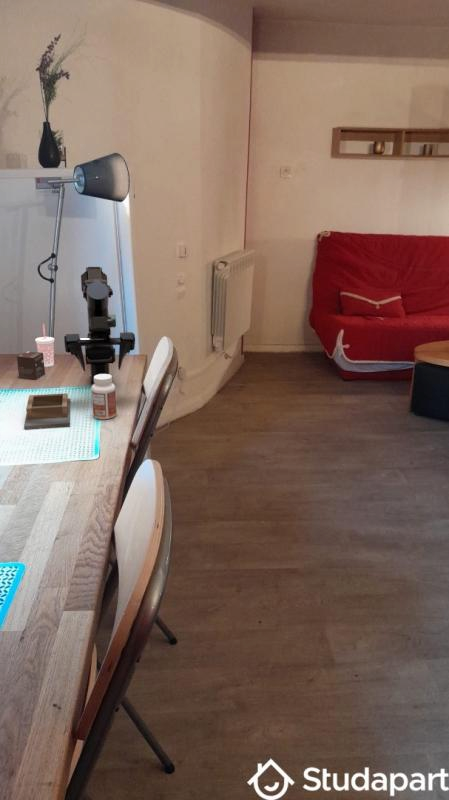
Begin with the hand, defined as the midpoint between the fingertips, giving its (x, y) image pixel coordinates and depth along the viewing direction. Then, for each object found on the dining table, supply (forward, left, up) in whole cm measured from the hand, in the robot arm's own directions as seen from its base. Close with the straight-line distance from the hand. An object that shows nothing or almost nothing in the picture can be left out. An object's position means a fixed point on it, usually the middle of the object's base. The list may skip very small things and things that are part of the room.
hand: (102, 369), depth 151 cm
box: (-32, -21, -12) cm, 40 cm away
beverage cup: (-44, -17, -12) cm, 49 cm away
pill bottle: (+5, 0, -12) cm, 13 cm away
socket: (+2, -15, -11) cm, 19 cm away
